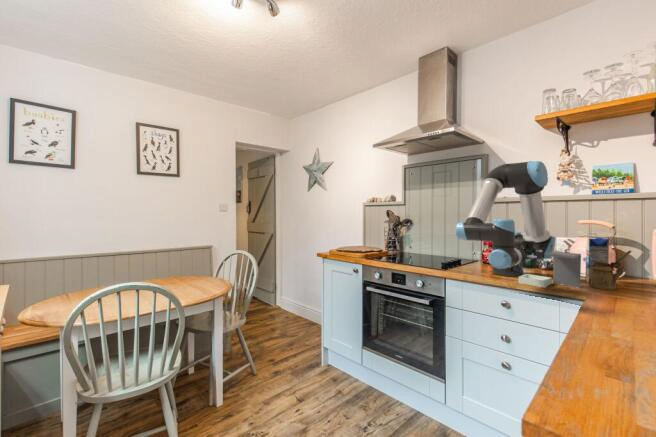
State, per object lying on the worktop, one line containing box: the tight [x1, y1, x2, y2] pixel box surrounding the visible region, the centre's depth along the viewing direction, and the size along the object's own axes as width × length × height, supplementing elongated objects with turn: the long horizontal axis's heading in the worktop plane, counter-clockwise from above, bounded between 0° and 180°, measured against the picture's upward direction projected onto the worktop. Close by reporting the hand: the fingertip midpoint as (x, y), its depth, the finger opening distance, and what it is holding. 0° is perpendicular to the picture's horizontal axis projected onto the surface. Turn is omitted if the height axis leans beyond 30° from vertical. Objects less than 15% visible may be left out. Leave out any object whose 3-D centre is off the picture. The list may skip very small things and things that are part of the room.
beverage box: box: [585, 236, 610, 285], centre depth 147 cm, size 7×11×22 cm, turn 145°
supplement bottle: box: [519, 240, 538, 269], centre depth 137 cm, size 7×7×12 cm
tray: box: [518, 273, 553, 288], centre depth 145 cm, size 11×11×3 cm
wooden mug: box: [588, 250, 632, 291], centre depth 136 cm, size 9×14×18 cm, turn 45°
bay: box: [547, 251, 582, 289], centre depth 137 cm, size 10×11×16 cm
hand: (531, 251), depth 140 cm, fingers closed on supplement bottle, 7 cm apart
